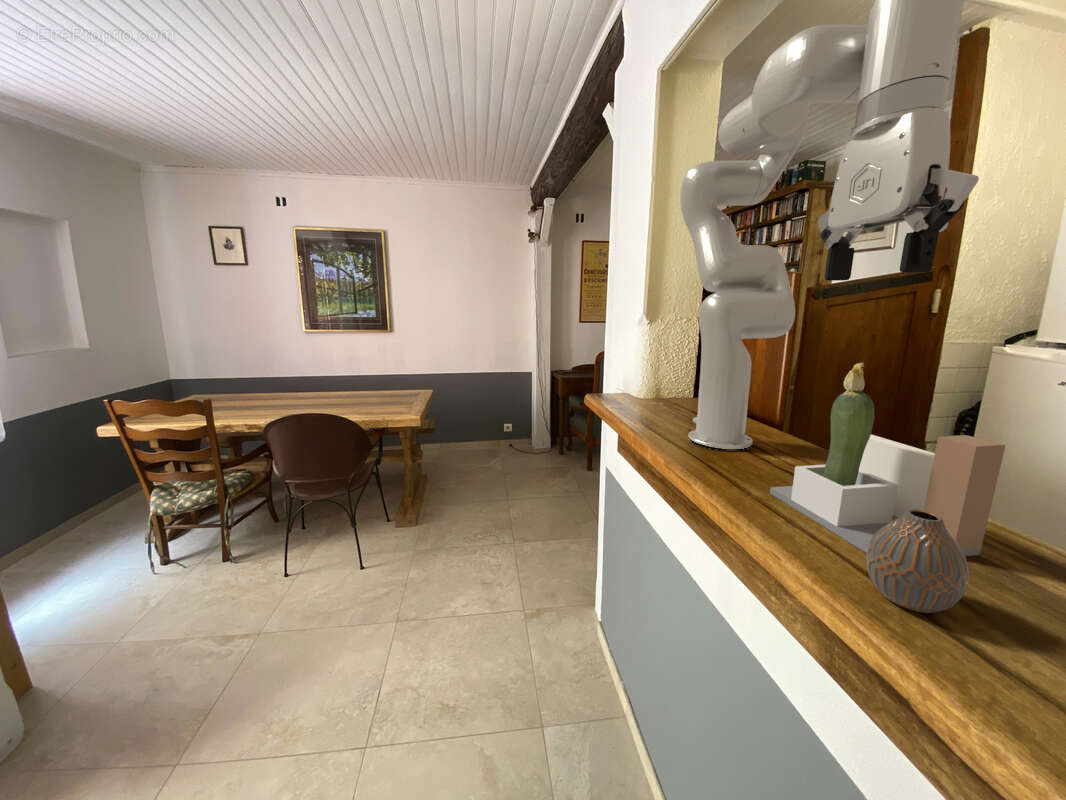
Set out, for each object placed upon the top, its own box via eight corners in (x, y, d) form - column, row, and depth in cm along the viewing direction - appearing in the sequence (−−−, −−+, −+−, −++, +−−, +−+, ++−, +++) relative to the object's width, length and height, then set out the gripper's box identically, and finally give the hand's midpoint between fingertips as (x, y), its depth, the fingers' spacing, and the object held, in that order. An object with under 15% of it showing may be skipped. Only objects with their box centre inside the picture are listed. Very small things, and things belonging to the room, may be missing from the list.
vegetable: (821, 499, 56) (841, 359, 52) (860, 509, 53) (885, 361, 49) (814, 510, 53) (835, 361, 49) (855, 521, 50) (881, 364, 46)
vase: (925, 633, 34) (945, 540, 32) (844, 582, 41) (857, 503, 39) (979, 616, 36) (1001, 527, 34) (893, 570, 42) (907, 494, 41)
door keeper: (769, 493, 61) (779, 411, 58) (840, 488, 62) (852, 407, 60) (884, 564, 43) (905, 450, 41) (979, 554, 45) (1005, 444, 42)
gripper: (805, 146, 52) (789, 282, 55) (958, 65, 35) (921, 268, 39) (856, 148, 53) (838, 282, 56) (1031, 70, 36) (988, 268, 39)
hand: (872, 276), depth 47 cm, fingers open, 9 cm apart
